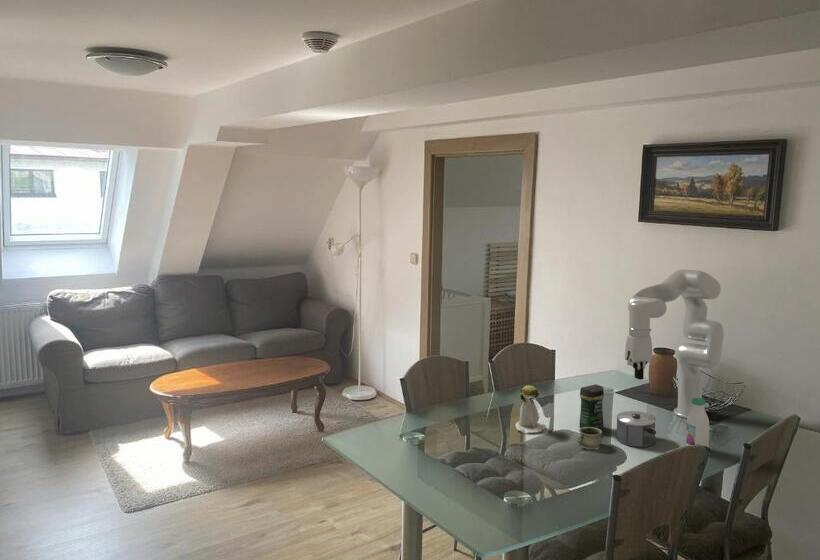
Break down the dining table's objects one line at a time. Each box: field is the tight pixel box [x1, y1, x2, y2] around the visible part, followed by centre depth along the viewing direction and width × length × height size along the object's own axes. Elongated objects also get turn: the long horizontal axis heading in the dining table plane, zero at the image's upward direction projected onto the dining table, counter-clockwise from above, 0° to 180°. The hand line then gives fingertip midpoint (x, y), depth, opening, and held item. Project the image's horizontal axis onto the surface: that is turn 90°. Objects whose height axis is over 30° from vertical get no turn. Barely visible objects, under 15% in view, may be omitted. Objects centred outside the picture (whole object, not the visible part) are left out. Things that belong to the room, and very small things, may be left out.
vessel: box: [577, 427, 604, 450], centre depth 242 cm, size 12×9×6 cm
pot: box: [616, 419, 657, 448], centre depth 246 cm, size 15×20×8 cm
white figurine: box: [515, 385, 547, 434], centre depth 262 cm, size 12×13×18 cm
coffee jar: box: [578, 383, 605, 431], centre depth 259 cm, size 10×8×19 cm
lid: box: [616, 410, 657, 426], centre depth 245 cm, size 15×14×2 cm
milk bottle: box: [685, 398, 710, 448], centre depth 234 cm, size 8×8×20 cm
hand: (638, 378), depth 244 cm, fingers closed
